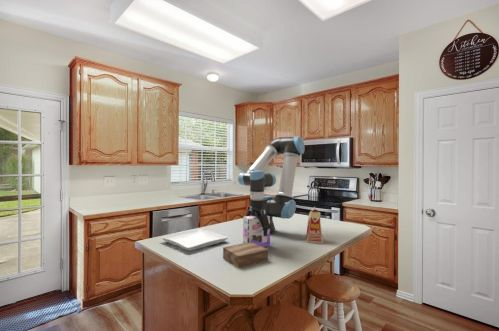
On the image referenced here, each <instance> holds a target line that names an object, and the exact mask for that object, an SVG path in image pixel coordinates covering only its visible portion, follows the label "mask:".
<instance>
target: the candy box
mask: <svg viewBox="0 0 499 331" xmlns="http://www.w3.org/2000/svg"><path fill="white" fill-rule="evenodd" d="M267 217H268V221H269V225H270V216H267ZM242 222H243V225H242V232H243V233H242V244H243V243H248V242H253V243H255V244H257V245H259V246H261V247H263V248H267V247H271V234H270V229H268V230H267V242H263V243H262V229H263V228H262V226H261V223H260V221H259V219H258V218H257V217H256V216H247V217H246V216H243V221H242ZM267 227H268V226H267Z"/></svg>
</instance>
